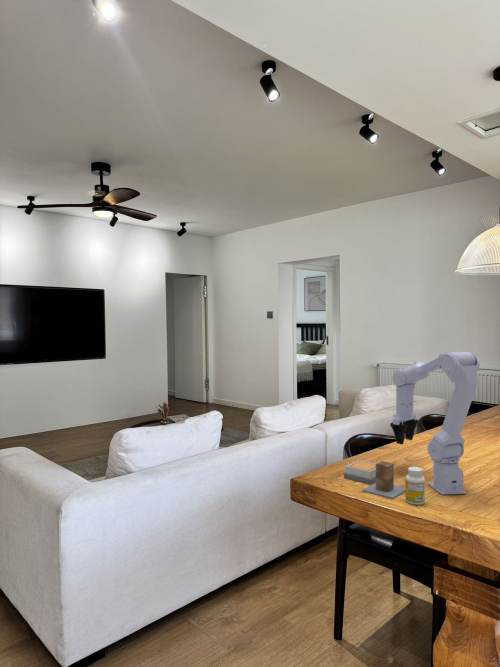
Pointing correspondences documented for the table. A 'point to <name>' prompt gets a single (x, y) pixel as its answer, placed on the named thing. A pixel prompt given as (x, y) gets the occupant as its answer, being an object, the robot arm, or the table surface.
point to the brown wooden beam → (384, 476)
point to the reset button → (364, 466)
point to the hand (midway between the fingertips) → (404, 441)
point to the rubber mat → (390, 494)
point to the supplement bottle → (415, 486)
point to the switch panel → (360, 474)
